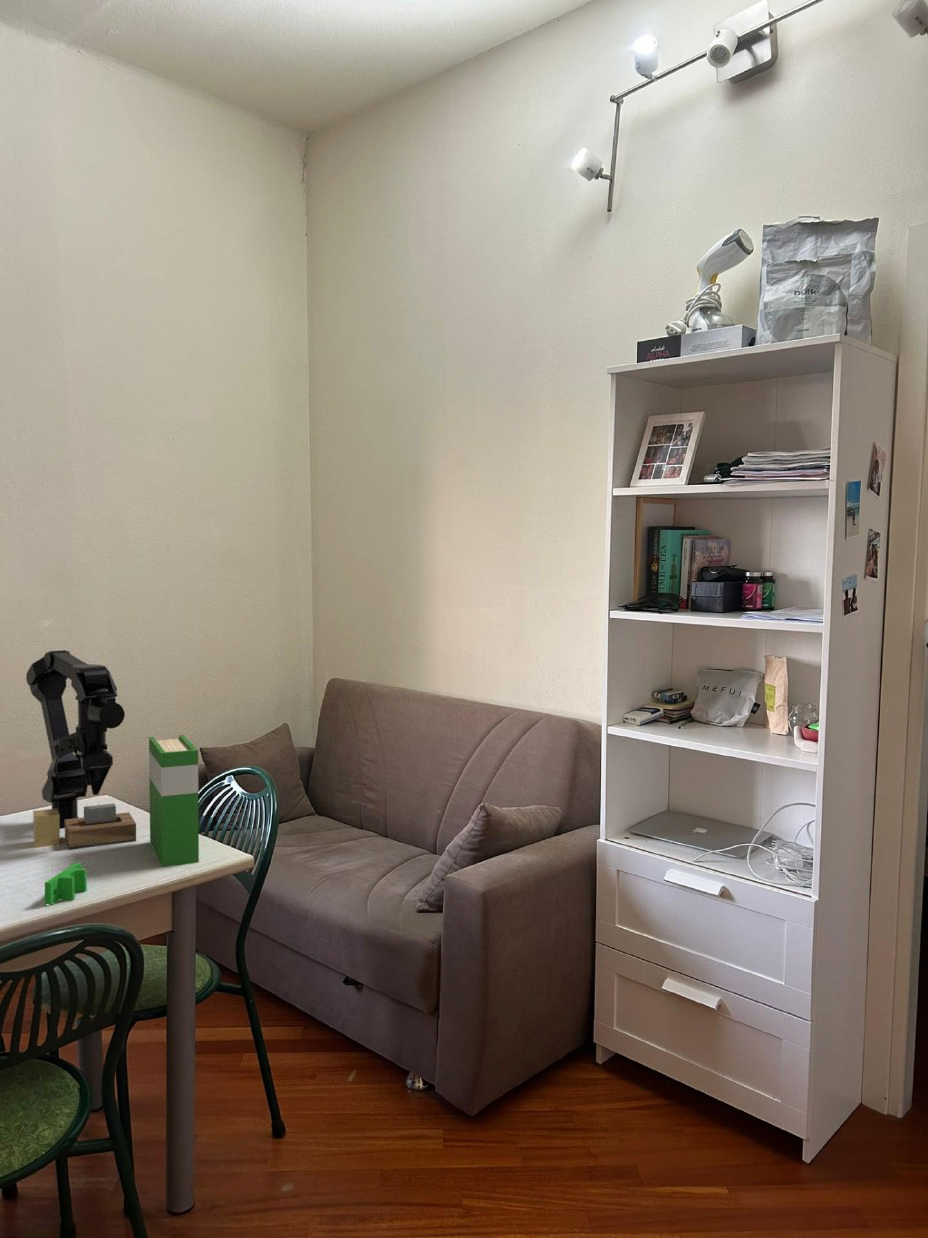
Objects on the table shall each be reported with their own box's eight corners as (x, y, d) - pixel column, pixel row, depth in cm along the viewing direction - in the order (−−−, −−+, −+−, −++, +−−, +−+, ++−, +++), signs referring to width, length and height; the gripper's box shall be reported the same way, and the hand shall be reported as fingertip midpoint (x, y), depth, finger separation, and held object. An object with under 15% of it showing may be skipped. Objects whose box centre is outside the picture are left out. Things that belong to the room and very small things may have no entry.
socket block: (64, 837, 213) (64, 819, 213) (129, 829, 219) (129, 812, 219) (69, 849, 204) (68, 831, 204) (136, 841, 211) (136, 823, 210)
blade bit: (84, 837, 211) (83, 806, 211) (114, 833, 214) (114, 803, 214) (85, 840, 209) (85, 809, 209) (116, 836, 212) (115, 806, 212)
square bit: (33, 841, 209) (33, 811, 209) (57, 838, 212) (57, 808, 211) (35, 848, 205) (34, 817, 204) (59, 845, 207) (59, 814, 207)
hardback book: (150, 842, 210) (149, 737, 208) (184, 838, 213) (183, 734, 211) (162, 867, 194) (161, 753, 192) (198, 862, 197) (198, 750, 195)
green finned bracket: (64, 908, 172) (63, 884, 172) (45, 907, 172) (44, 882, 172) (94, 885, 183) (94, 863, 183) (76, 884, 184) (76, 862, 183)
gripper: (49, 717, 214) (50, 784, 216) (57, 732, 198) (58, 804, 199) (100, 713, 220) (101, 779, 221) (112, 728, 203) (113, 798, 205)
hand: (92, 789), depth 211 cm, fingers open, 9 cm apart
